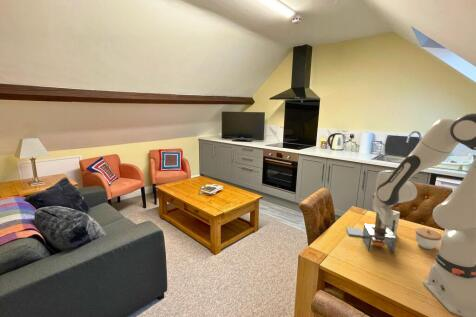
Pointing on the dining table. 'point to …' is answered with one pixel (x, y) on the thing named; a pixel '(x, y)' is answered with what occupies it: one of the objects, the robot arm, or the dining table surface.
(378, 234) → the frame
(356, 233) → the slate pad
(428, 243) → the lidded jar
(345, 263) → the dining table surface
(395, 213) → the syrup box
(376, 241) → the button
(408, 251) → the dining table surface
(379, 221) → the brown rectangular block
